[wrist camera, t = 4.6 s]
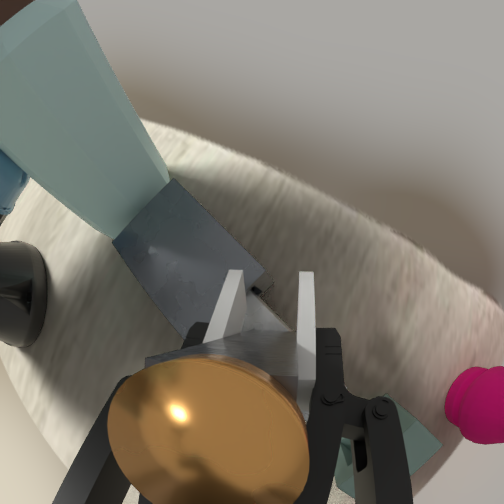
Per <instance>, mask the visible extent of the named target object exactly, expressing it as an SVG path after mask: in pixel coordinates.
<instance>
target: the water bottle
mask: <svg viewBox="0 0 504 504" xmlns="http://www.w3.org/2000/svg"><path fill="white" fill-rule="evenodd" d="M0 149H1V150H2V151H3V152H4V153H5V154H6V155H7V156H8V157H9V158H10V159H11V160H12V161H13V162H15V163H16V164H17V165H18V166H19V167H20V168H21V169H22V170H23V171H25V172H26V173H27V174H28V175H29V176H30V177H31V178H32V179H34V180H35V181H36V182H37V183H38V184H39V185H41V186H42V187H43V188H44V189H45V190H47V191H48V192H49V193H50V194H51V195H53V196H54V197H55V198H56V199H57V200H59V201H60V202H61V203H62V204H64V205H65V206H66V207H67V208H69V209H70V210H71V211H72V212H74V213H75V214H76V215H77V216H79V217H80V218H81V219H83V220H84V221H85V222H86V223H88V224H89V225H90V226H92V227H93V228H94V229H96V230H98V231H99V232H101V233H103V234H105V235H107V236H109V237H110V238H112V239H115V238H116V237H117V236H118V235H119V234H120V233H121V231H122V230H123V229H124V228H125V227H126V226H127V225H128V224H129V223H130V222H131V220H132V219H133V218H134V217H135V216H136V215H137V214H138V213H139V212H140V211H141V210H142V209H143V208H144V207H145V206H146V205H147V204H148V203H149V202H150V200H151V199H152V198H153V197H154V196H155V195H156V194H157V193H158V192H159V191H160V190H161V189H162V188H163V187H164V186H166V185H167V184H168V183H169V182H170V178H169V174H168V170H167V166H166V164H165V162H164V161H163V159H162V157H161V155H160V154H159V152H158V150H157V149H156V147H155V145H154V143H153V142H152V140H151V138H150V136H149V135H148V133H147V131H146V129H145V128H144V126H143V124H142V122H141V121H140V119H139V117H138V115H137V113H136V112H135V110H134V108H133V106H132V104H131V103H130V101H129V99H128V97H127V95H126V94H125V92H124V90H123V88H122V86H121V85H120V83H119V81H118V79H117V77H116V75H115V73H114V71H113V70H112V68H111V66H110V64H109V62H108V60H107V58H106V56H105V55H104V53H103V51H102V49H101V47H100V45H99V43H98V41H97V39H96V37H95V35H94V33H93V31H92V29H91V27H90V26H89V24H88V21H87V20H86V17H85V15H84V14H83V11H82V9H81V7H80V5H79V3H78V1H77V0H0Z"/></svg>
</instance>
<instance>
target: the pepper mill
mask: <svg viewBox="0 0 504 504" xmlns="http://www.w3.org/2000/svg"><path fill="white" fill-rule="evenodd" d="M445 414H446V417H447V419H448V420H449V421H450V422H451V423H453V424H454V425H456V426H457V427H459V428H460V431H461V433H462V435H463V436H464V437H465V438H466V439H468V440H470V441H472V442H474V443H478V444H495V443H504V367H503V366H497V367H493V368H490V369H486V368H481V367H472V368H469V369H467V370H465V371H464V372H463V373H462V374H460V375H459V376H458V378H457V379H456V380H455V381H454V382H453V384H452V386H451V388H450V389H449V392H448V394H447V397H446V402H445Z"/></svg>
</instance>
